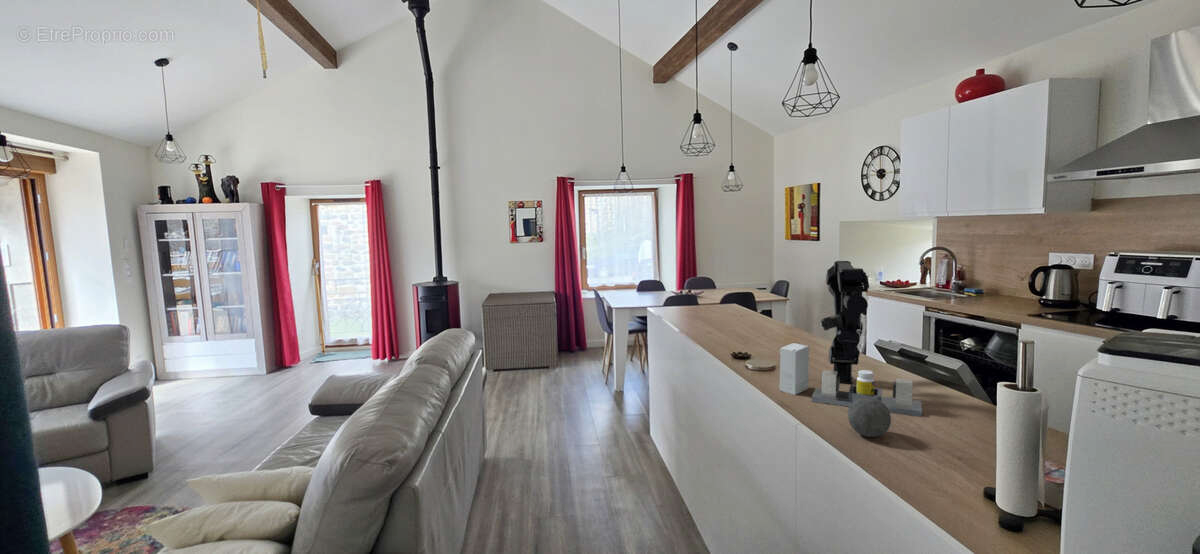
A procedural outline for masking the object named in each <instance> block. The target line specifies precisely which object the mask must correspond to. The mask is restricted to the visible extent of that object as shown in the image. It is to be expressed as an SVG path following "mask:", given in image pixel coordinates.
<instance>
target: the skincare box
mask: <svg viewBox="0 0 1200 554" xmlns="http://www.w3.org/2000/svg"><path fill="white" fill-rule="evenodd" d="M779 354H780V355H779V356H780V357H779V359H780V361H779V363H780V364H779V391H780V392H782V393H787V394H791V395H794V396H796V395H798V394H800V393H802V392H804V391H806V390H808V389H809V364H810V363H809V362H810V357H809V356H810V346H808V345H805V344H799V343H795V342H793V343H789V344H787V345H785V346H782V347H780V352H779Z"/></svg>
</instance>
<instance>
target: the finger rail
mask: <svg viewBox="0 0 1200 554" xmlns="http://www.w3.org/2000/svg"><path fill="white" fill-rule="evenodd" d="M840 384H841V382H840V375H837V371H833V370H825V369H823V371H822V373H821V388H816V387H815V389H814V390H813V393H812V396H811V402H812V403H818V402H819V403H820V404H825V403H829V404H828V405H832V404H836V405H835V406H840V405H842V406H841V407H847V406H848V408H850V406H851V404H852V403H853V402H854V401H856V400H858V399H860V398H865V397H869V398H874V399H877V400H879V401H880V402H882V403H883V404H884V405H885V406H886V407H887V408H888V410H889V412H890V414H892V413H893V414H899V415H907V416H914V417H922V416H923V408H922V401H920V400H915V399H913V379H911V378H909V379H908V378H900V377H896V380H893V382H892V397H890V396H889V397H888V396H883V395H882V392H883V391H882V390H883V389H882V388H880V387H874V395H865V394H857V393H856V392H857V384H856V385H855V384H850V387H849V390H848V391H841V390H840V386H841V385H840ZM819 403H818V404H819Z"/></svg>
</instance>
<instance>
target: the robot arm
mask: <svg viewBox="0 0 1200 554" xmlns="http://www.w3.org/2000/svg"><path fill="white" fill-rule="evenodd" d="M868 278H869V276H868V275H867V273H866V272H865V271H864V269H863V268H860V267H854V266H853V265H852V263H851V261H849V260H837V261H834V262H833V265H832V266H831V267H830V268H828V269H827V271H826V277H825V283H826V286H827V290H828V292H829V293H830V294H831V296H832V297H833V307H834V310H833V311H834V315H831V316H827V317H824V318H821V320H820V323H821V327H822V328H823V330H824V331H828V330H830V329H834V328H835V336H834V338H833V340H832V342H831V345H830V346H829V350H828V361H829V363H830V365H831V364H832V365H833V370H832V371H837V375H840V383H845V384H853V382H854V381H853V380H854V377H853V376H852V375H853V372H852V371H853V370H852V369H853V365H855V366H857V365H858V364H859V361H860V360H859V358H860V350H859V348H858V345H859V344H860V342H861V336H862V334H863V330H864V323H863V322H862V320H861V319H862V314H863V313H865V312H866V311H867V310H868V307H869V304H868V303H869V302H868V301H867V298H865V297H864V296H863V293H868V291H869V289H870V283H869V279H868Z"/></svg>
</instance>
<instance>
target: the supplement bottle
mask: <svg viewBox="0 0 1200 554" xmlns="http://www.w3.org/2000/svg"><path fill="white" fill-rule="evenodd" d="M856 386H857V392H856V393H857V394H865V395H874V388H875V379H874V372H873V371H871V370H867V369H860V370H859V371H858V372H857V377H856Z"/></svg>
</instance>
